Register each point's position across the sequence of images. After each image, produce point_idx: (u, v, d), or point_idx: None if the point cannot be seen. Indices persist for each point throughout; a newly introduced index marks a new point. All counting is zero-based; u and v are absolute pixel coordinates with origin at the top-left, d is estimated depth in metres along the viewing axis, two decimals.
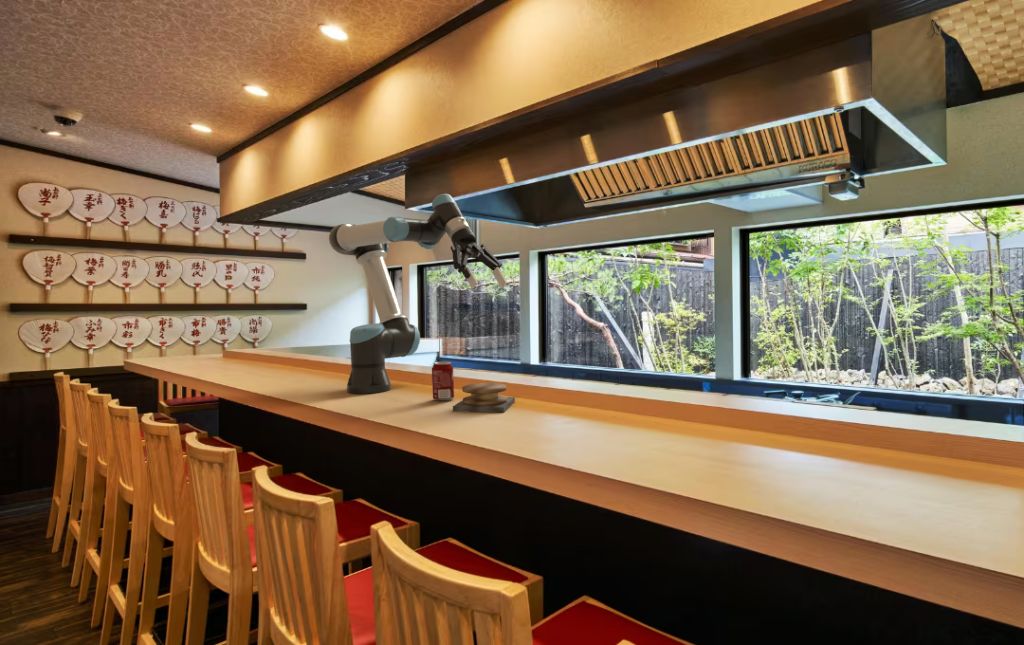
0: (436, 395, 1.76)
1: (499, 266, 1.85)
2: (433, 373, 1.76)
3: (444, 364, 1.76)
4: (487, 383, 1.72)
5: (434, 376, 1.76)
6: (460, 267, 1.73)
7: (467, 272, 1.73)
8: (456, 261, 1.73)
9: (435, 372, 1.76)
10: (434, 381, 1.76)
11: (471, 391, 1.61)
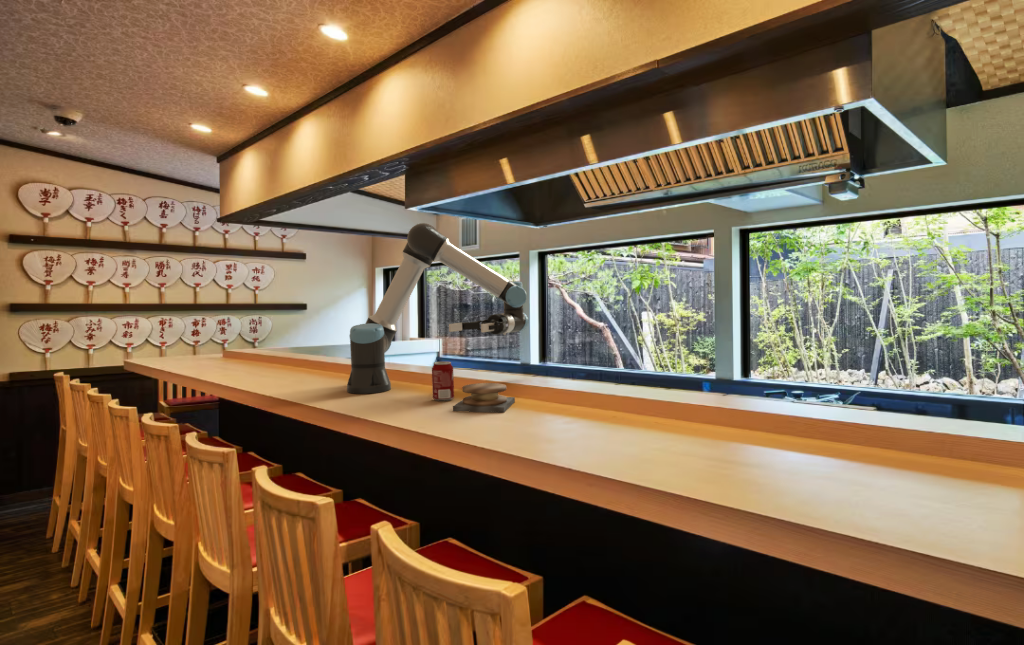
0: (436, 395, 1.76)
1: (459, 330, 2.00)
2: (433, 373, 1.76)
3: (444, 364, 1.76)
4: (487, 383, 1.72)
5: (434, 376, 1.76)
6: (498, 327, 1.91)
7: None
8: (503, 327, 1.93)
9: (435, 372, 1.76)
10: (434, 381, 1.76)
11: (471, 391, 1.61)
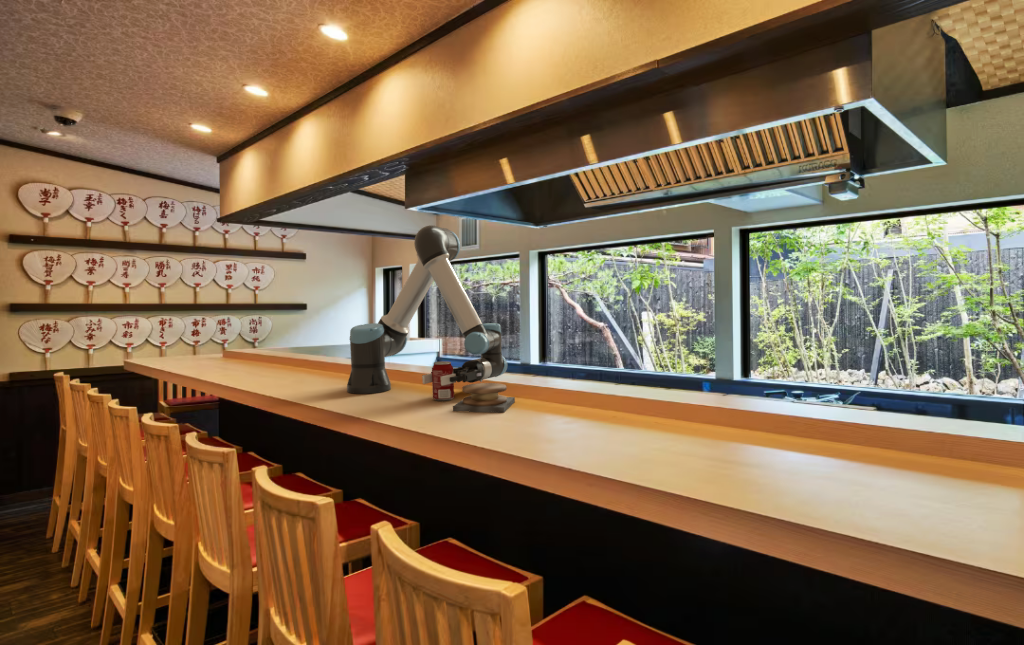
0: (436, 395, 1.76)
1: None
2: (433, 373, 1.76)
3: (444, 364, 1.76)
4: (487, 383, 1.72)
5: (434, 376, 1.76)
6: (461, 378, 1.77)
7: None
8: (467, 379, 1.78)
9: (435, 372, 1.76)
10: (434, 381, 1.76)
11: (471, 391, 1.61)
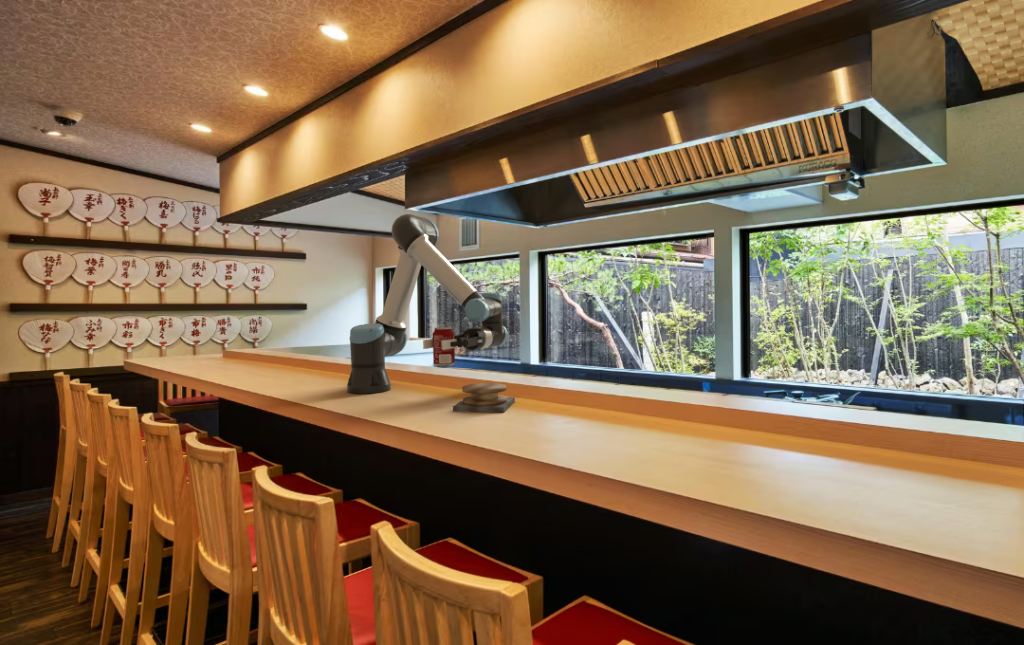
0: (436, 360, 1.75)
1: None
2: (434, 338, 1.75)
3: (445, 329, 1.75)
4: (487, 383, 1.72)
5: (435, 341, 1.75)
6: (462, 344, 1.76)
7: (454, 346, 1.75)
8: (468, 344, 1.77)
9: (436, 337, 1.75)
10: (435, 346, 1.75)
11: (471, 391, 1.61)
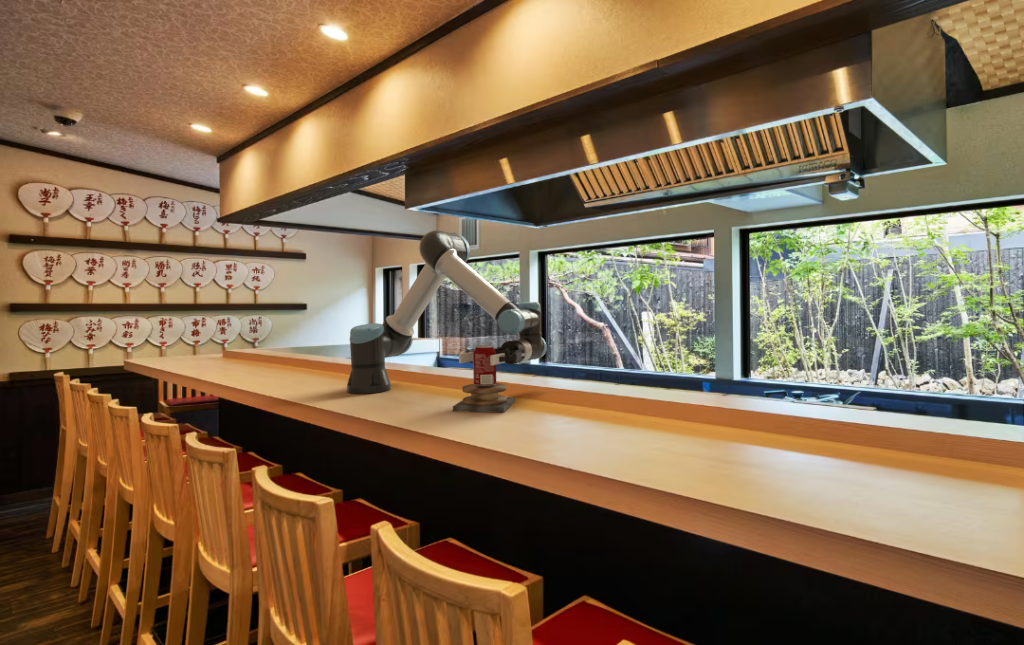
0: (477, 380, 1.64)
1: (471, 361, 1.72)
2: (475, 357, 1.64)
3: (487, 347, 1.63)
4: None
5: (476, 360, 1.64)
6: (510, 358, 1.64)
7: None
8: (517, 359, 1.66)
9: (477, 356, 1.63)
10: (476, 365, 1.64)
11: (471, 391, 1.61)
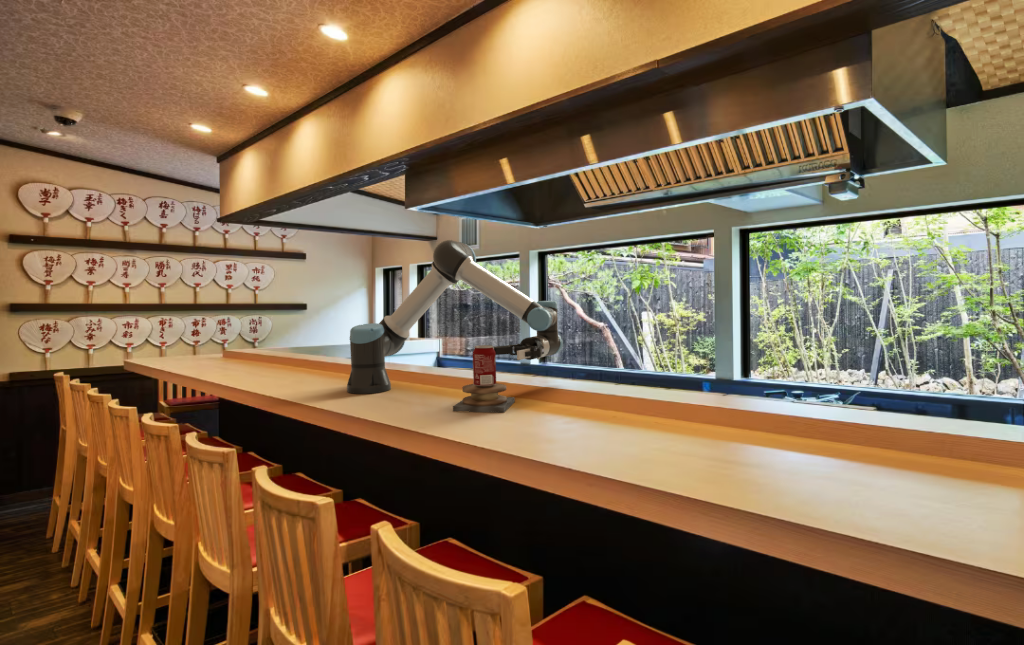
0: (477, 381, 1.64)
1: None
2: (474, 357, 1.64)
3: (486, 348, 1.63)
4: None
5: (475, 361, 1.64)
6: (535, 353, 1.74)
7: (528, 356, 1.73)
8: None
9: (477, 356, 1.63)
10: (475, 366, 1.64)
11: (471, 391, 1.61)
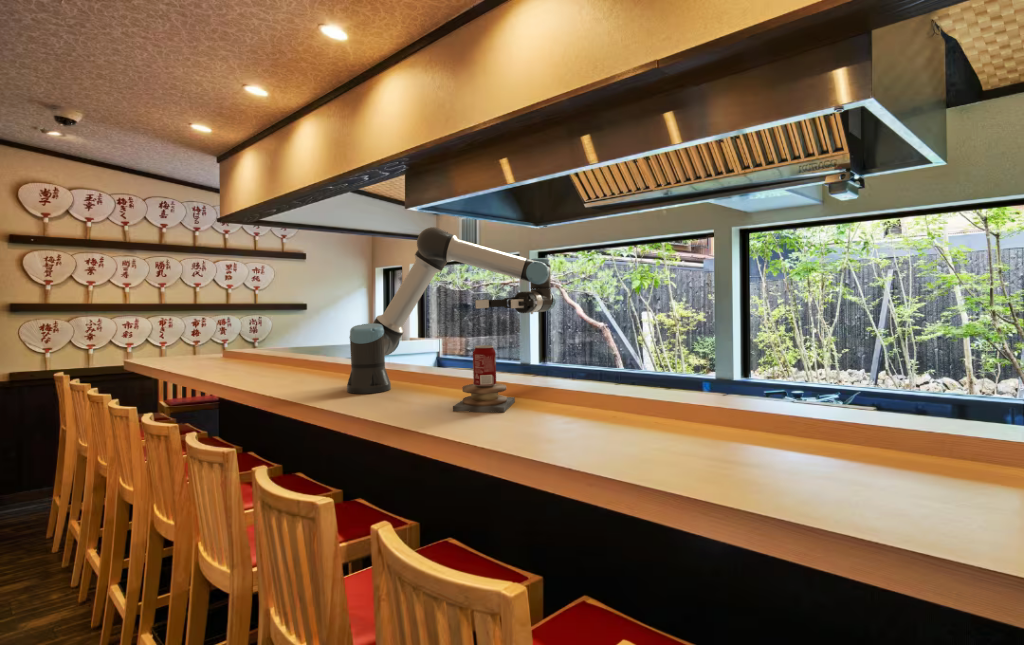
0: (477, 381, 1.64)
1: (486, 308, 1.89)
2: (474, 357, 1.64)
3: (486, 348, 1.63)
4: None
5: (476, 360, 1.64)
6: (528, 303, 1.81)
7: (522, 305, 1.80)
8: None
9: (477, 356, 1.63)
10: (475, 366, 1.64)
11: (471, 391, 1.61)
